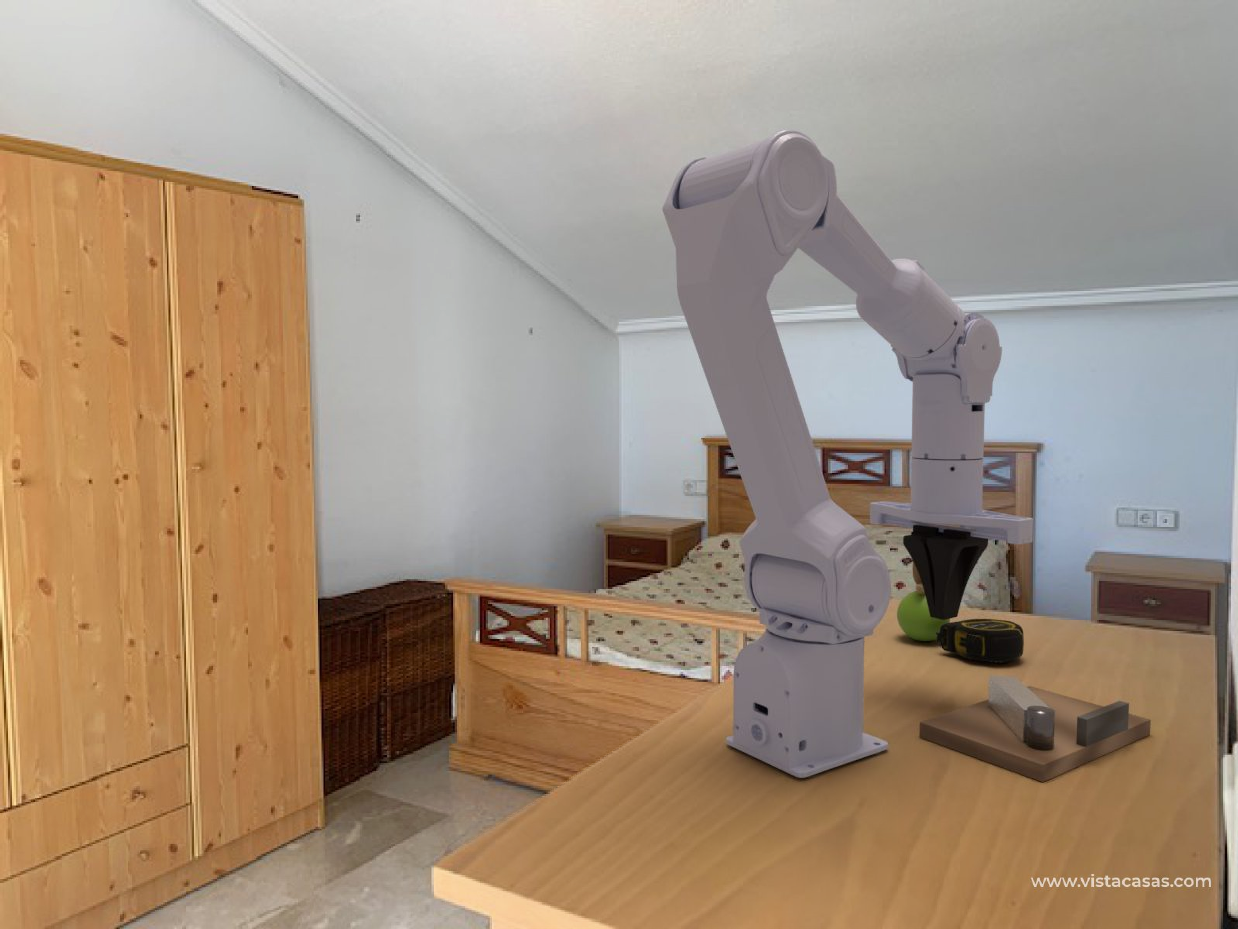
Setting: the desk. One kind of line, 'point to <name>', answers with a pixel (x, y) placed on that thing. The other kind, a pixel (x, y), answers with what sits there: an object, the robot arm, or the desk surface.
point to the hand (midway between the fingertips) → (943, 617)
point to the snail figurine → (918, 614)
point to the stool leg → (1022, 711)
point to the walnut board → (1076, 742)
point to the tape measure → (983, 639)
